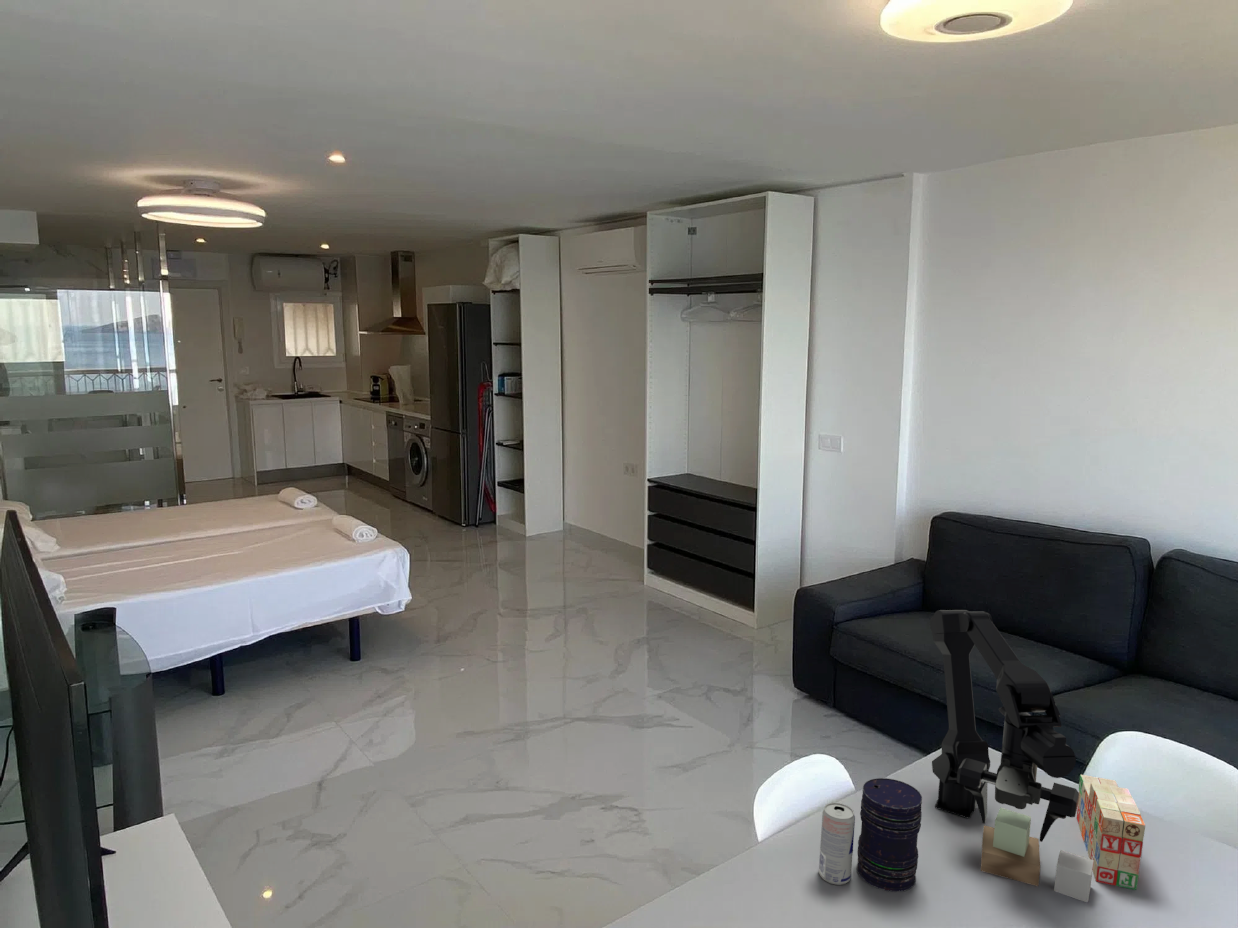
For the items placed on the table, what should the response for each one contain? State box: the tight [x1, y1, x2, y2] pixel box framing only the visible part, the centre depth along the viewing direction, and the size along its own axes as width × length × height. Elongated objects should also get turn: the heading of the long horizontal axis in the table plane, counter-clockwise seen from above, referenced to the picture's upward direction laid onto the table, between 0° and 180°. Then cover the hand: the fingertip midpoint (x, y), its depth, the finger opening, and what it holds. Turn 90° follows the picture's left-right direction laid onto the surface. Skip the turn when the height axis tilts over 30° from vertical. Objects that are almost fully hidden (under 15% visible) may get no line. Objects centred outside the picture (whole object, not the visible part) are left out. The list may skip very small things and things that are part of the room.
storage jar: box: [856, 777, 923, 893], centre depth 139 cm, size 10×10×15 cm
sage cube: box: [993, 807, 1032, 857], centre depth 143 cm, size 5×5×5 cm
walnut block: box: [980, 825, 1041, 887], centre depth 144 cm, size 9×9×4 cm
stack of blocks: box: [1076, 774, 1146, 891], centre depth 148 cm, size 21×6×12 cm, turn 159°
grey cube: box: [1053, 849, 1094, 903], centre depth 137 cm, size 5×5×5 cm
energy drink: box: [818, 802, 856, 886], centre depth 139 cm, size 5×5×12 cm
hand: (1012, 831), depth 143 cm, fingers open, 9 cm apart
